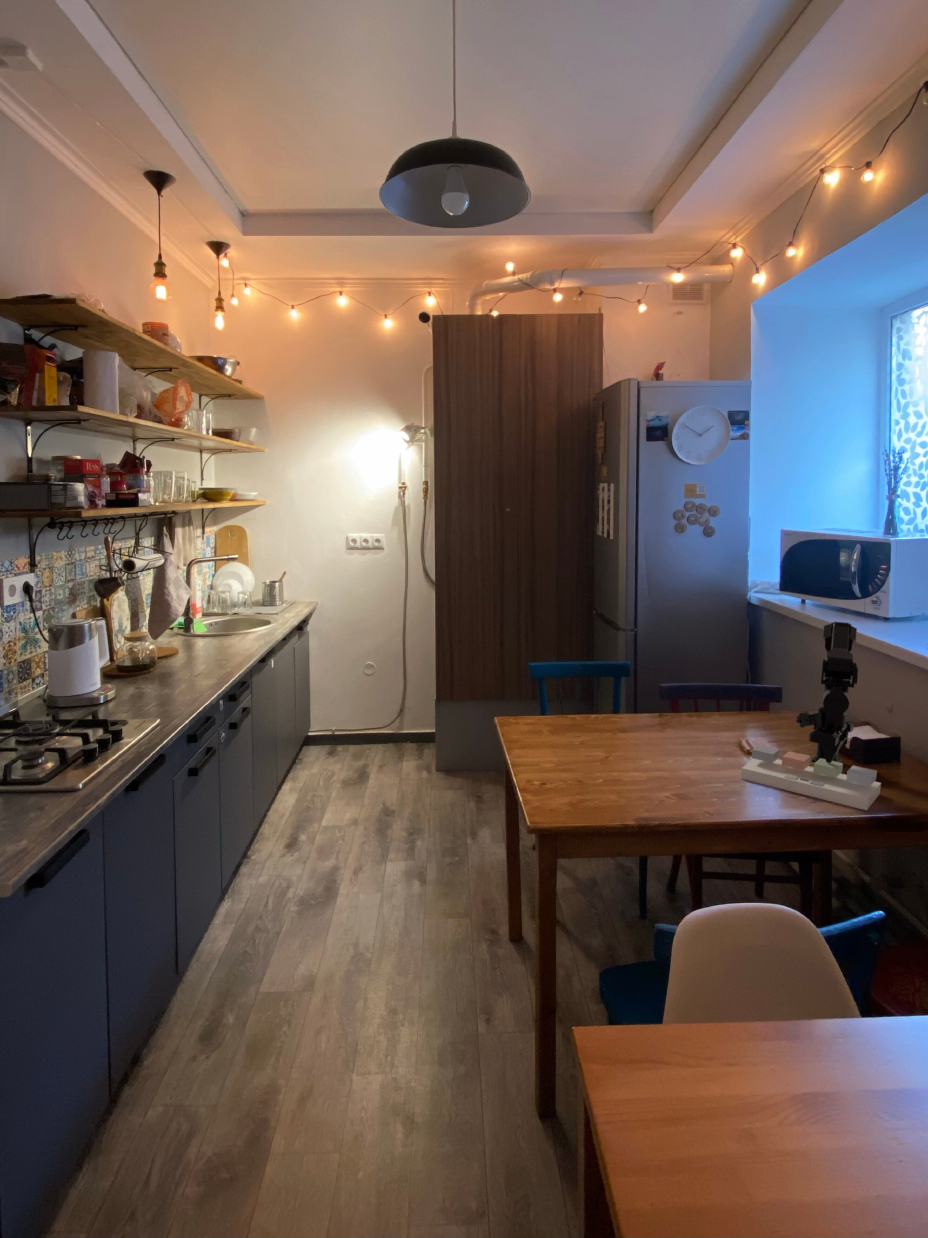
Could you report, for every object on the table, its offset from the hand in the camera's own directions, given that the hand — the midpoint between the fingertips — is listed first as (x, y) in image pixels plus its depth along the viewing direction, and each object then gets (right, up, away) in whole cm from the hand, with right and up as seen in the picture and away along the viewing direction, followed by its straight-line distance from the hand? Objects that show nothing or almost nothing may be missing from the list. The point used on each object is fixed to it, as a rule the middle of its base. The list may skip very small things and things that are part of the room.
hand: (828, 762), depth 201 cm
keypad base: (-4, -7, +3) cm, 8 cm away
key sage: (0, -3, 0) cm, 3 cm away
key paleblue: (+6, -4, -5) cm, 8 cm away
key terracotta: (-6, -2, +5) cm, 8 cm away
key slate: (-12, -1, +10) cm, 16 cm away
